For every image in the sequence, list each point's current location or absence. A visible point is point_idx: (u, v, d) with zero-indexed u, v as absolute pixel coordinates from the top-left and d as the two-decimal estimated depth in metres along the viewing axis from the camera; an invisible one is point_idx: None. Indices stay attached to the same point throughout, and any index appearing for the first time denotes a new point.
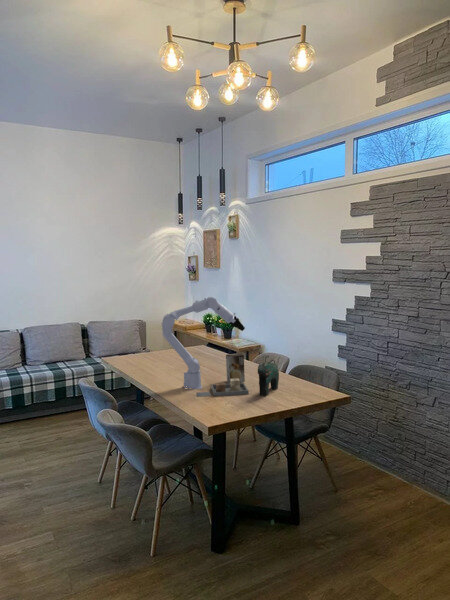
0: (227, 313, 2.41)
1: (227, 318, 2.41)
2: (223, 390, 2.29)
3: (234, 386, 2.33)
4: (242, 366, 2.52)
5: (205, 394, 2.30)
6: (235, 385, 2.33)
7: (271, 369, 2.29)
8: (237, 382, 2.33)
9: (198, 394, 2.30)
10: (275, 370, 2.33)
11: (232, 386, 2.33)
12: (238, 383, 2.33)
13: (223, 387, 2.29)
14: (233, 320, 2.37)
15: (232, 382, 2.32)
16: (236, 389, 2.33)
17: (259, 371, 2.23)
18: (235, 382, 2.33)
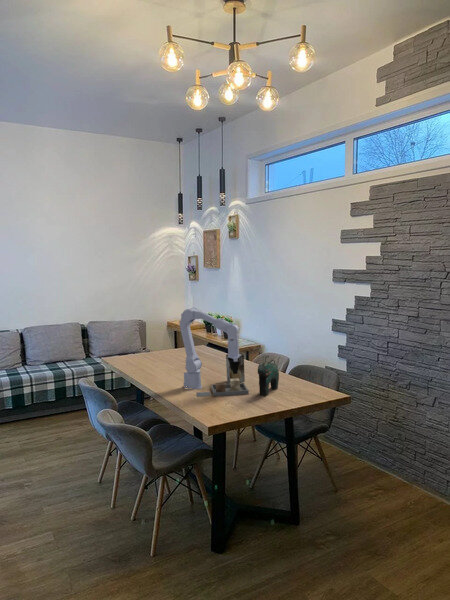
0: (236, 350, 2.33)
1: (232, 353, 2.33)
2: (223, 390, 2.29)
3: (234, 386, 2.33)
4: (242, 366, 2.52)
5: (205, 394, 2.30)
6: (235, 385, 2.33)
7: (271, 369, 2.29)
8: (237, 382, 2.33)
9: (198, 394, 2.30)
10: (275, 370, 2.33)
11: (232, 386, 2.33)
12: (238, 383, 2.33)
13: (223, 387, 2.29)
14: (236, 359, 2.29)
15: (232, 382, 2.32)
16: (236, 389, 2.33)
17: (259, 371, 2.23)
18: (235, 382, 2.33)
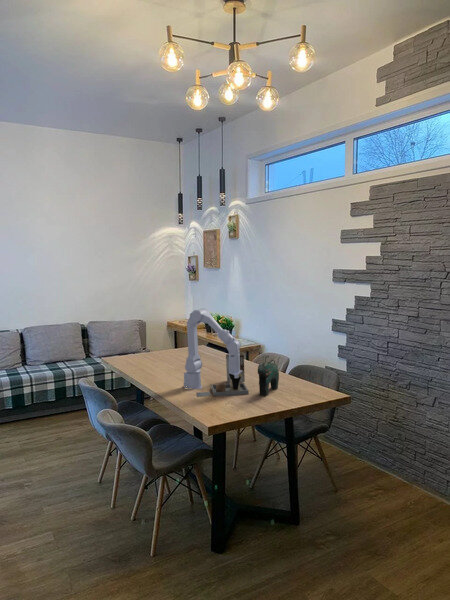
0: (237, 366, 2.32)
1: (233, 369, 2.31)
2: (223, 390, 2.29)
3: None
4: (242, 366, 2.52)
5: (205, 394, 2.30)
6: None
7: (271, 369, 2.29)
8: None
9: (198, 394, 2.30)
10: (275, 370, 2.33)
11: (232, 386, 2.33)
12: None
13: (223, 387, 2.29)
14: (237, 376, 2.27)
15: None
16: None
17: (259, 371, 2.23)
18: None
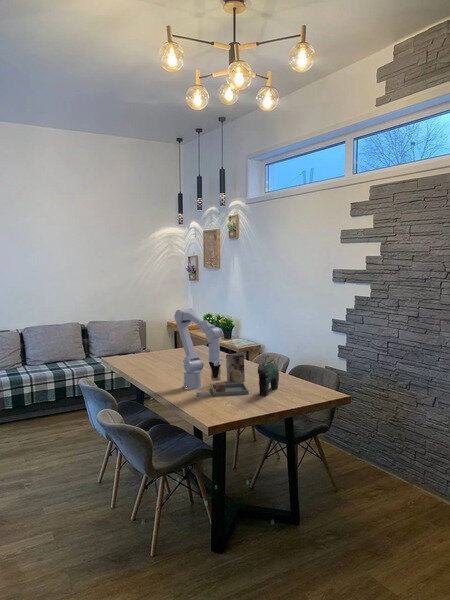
0: (216, 353, 2.28)
1: (213, 357, 2.28)
2: (223, 390, 2.29)
3: None
4: (242, 366, 2.52)
5: (205, 394, 2.30)
6: None
7: (271, 369, 2.29)
8: None
9: (198, 394, 2.30)
10: (275, 370, 2.33)
11: None
12: (219, 372, 2.29)
13: (223, 387, 2.29)
14: (216, 363, 2.24)
15: None
16: (217, 378, 2.29)
17: (259, 371, 2.23)
18: None
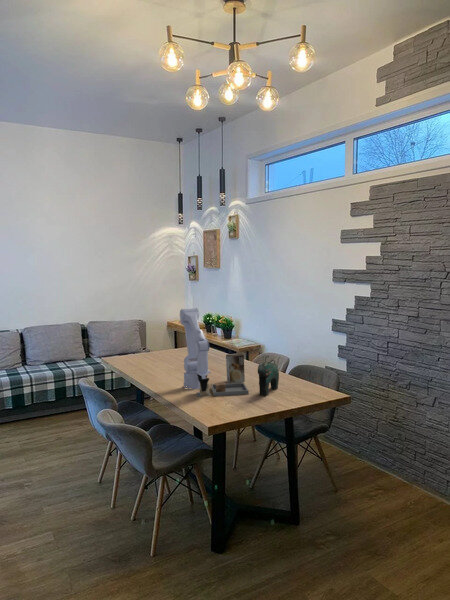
0: (205, 366, 2.27)
1: (201, 370, 2.26)
2: (223, 390, 2.29)
3: None
4: (242, 366, 2.52)
5: None
6: None
7: (271, 369, 2.29)
8: None
9: (198, 394, 2.30)
10: (275, 370, 2.33)
11: None
12: (207, 386, 2.28)
13: (223, 387, 2.29)
14: (204, 377, 2.22)
15: None
16: (205, 392, 2.28)
17: (259, 371, 2.23)
18: None
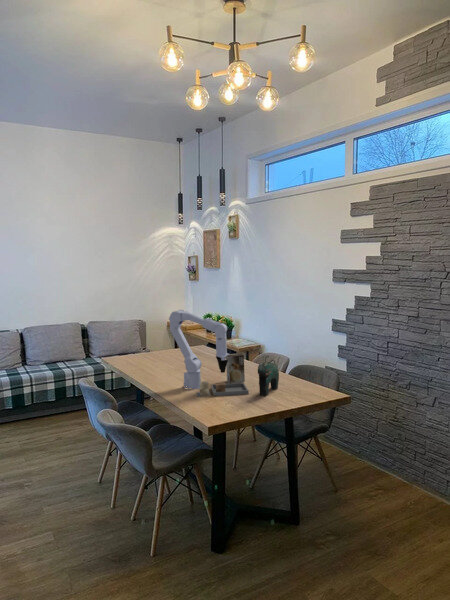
0: (223, 348, 2.36)
1: (220, 352, 2.36)
2: (223, 390, 2.29)
3: (203, 389, 2.28)
4: (242, 366, 2.52)
5: None
6: (204, 388, 2.28)
7: (271, 369, 2.29)
8: (206, 385, 2.28)
9: (198, 394, 2.30)
10: (275, 370, 2.33)
11: (201, 389, 2.28)
12: (207, 386, 2.28)
13: (223, 387, 2.29)
14: (223, 358, 2.32)
15: (201, 385, 2.28)
16: (205, 392, 2.28)
17: (259, 371, 2.23)
18: (204, 385, 2.28)
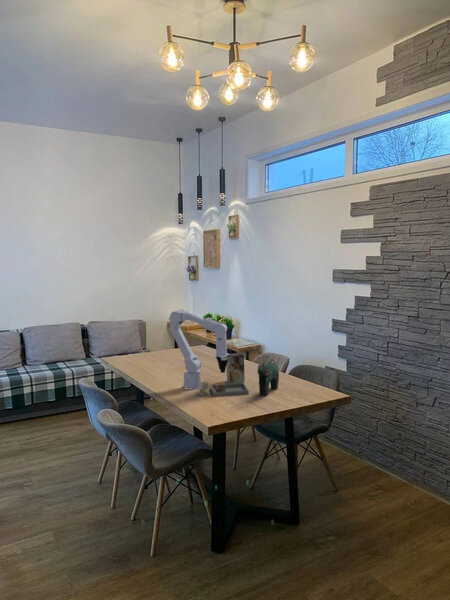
0: (223, 348, 2.36)
1: (220, 352, 2.36)
2: (223, 390, 2.29)
3: (203, 389, 2.28)
4: (242, 366, 2.52)
5: None
6: (204, 388, 2.28)
7: (271, 369, 2.29)
8: (206, 385, 2.28)
9: (198, 394, 2.30)
10: (275, 370, 2.33)
11: (201, 389, 2.28)
12: (207, 386, 2.28)
13: (223, 387, 2.29)
14: (223, 358, 2.32)
15: (201, 385, 2.28)
16: (205, 392, 2.28)
17: (259, 371, 2.23)
18: (204, 385, 2.28)
